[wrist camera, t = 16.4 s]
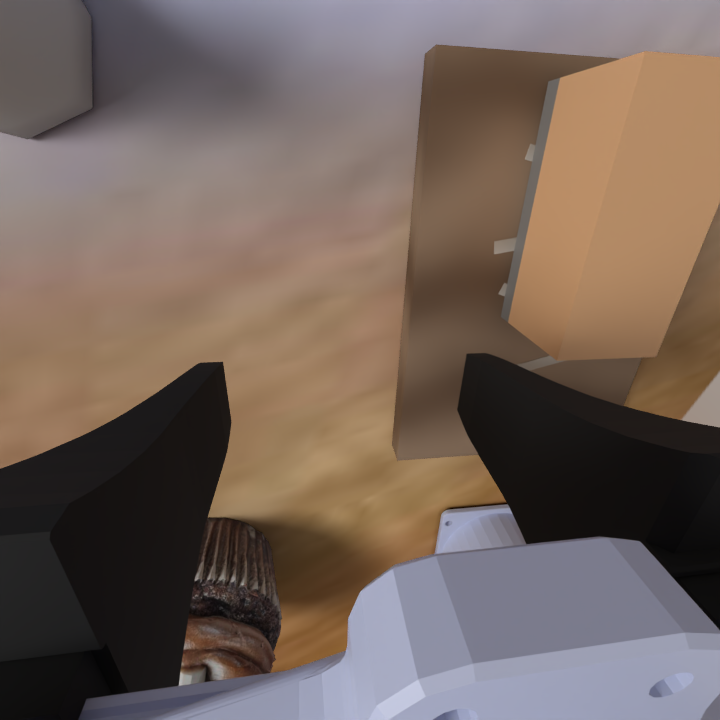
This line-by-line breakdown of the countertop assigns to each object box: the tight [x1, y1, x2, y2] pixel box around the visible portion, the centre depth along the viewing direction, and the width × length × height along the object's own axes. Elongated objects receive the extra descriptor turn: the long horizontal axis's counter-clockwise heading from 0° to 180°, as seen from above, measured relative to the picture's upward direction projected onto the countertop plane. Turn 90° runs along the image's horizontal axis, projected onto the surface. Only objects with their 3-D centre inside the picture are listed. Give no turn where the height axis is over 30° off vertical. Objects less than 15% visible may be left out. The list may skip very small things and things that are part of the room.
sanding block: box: [501, 51, 720, 361], centre depth 16 cm, size 10×4×5 cm, turn 178°
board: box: [392, 45, 642, 460], centre depth 21 cm, size 20×14×2 cm
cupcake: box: [179, 517, 282, 686], centre depth 23 cm, size 10×10×10 cm
